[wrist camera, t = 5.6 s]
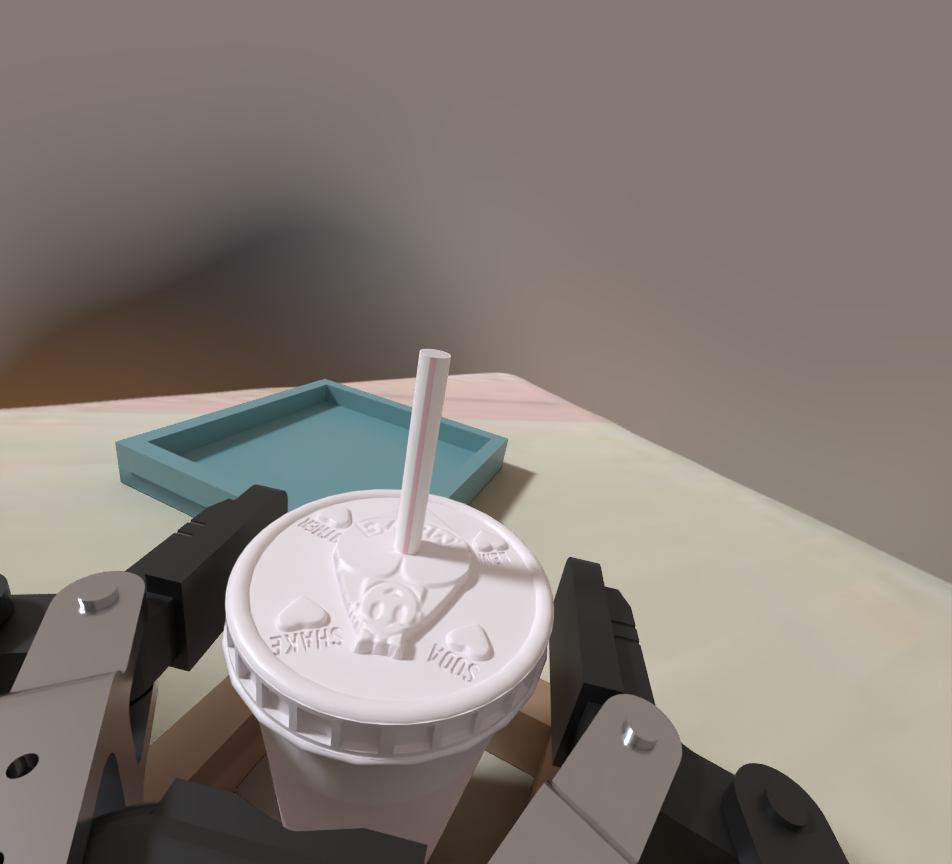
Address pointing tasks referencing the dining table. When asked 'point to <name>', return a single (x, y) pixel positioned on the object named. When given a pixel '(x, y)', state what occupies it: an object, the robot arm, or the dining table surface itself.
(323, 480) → the tray
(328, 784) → the smoothie
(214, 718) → the collar
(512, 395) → the dining table surface
